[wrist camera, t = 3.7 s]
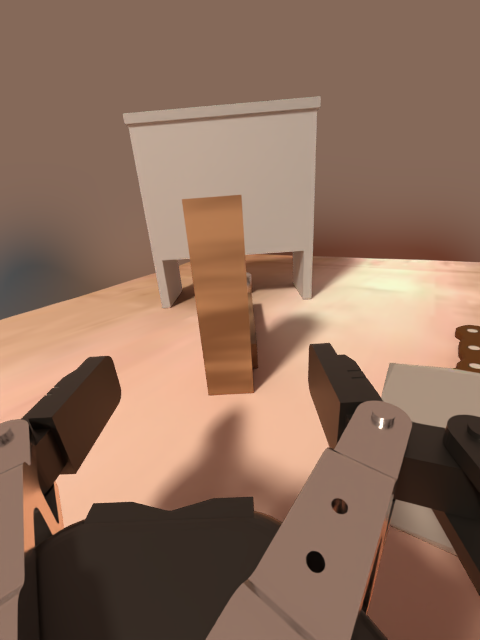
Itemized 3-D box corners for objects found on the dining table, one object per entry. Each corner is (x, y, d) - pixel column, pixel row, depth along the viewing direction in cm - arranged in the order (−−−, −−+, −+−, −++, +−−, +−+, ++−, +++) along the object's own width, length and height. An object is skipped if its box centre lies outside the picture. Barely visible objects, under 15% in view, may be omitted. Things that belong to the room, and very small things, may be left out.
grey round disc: (239, 287, 50) (238, 270, 49) (258, 292, 46) (257, 274, 45) (216, 294, 47) (214, 276, 46) (234, 300, 43) (233, 281, 42)
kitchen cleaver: (394, 317, 32) (514, 328, 26) (393, 325, 32) (512, 338, 27) (312, 489, 14) (636, 645, 8) (312, 503, 14) (624, 663, 9)
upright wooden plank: (260, 392, 22) (249, 193, 16) (202, 395, 22) (173, 199, 16) (252, 309, 39) (246, 198, 33) (219, 311, 39) (208, 201, 33)
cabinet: (313, 299, 41) (320, 96, 31) (159, 308, 41) (122, 113, 32) (301, 282, 49) (303, 119, 40) (174, 290, 50) (148, 133, 41)
